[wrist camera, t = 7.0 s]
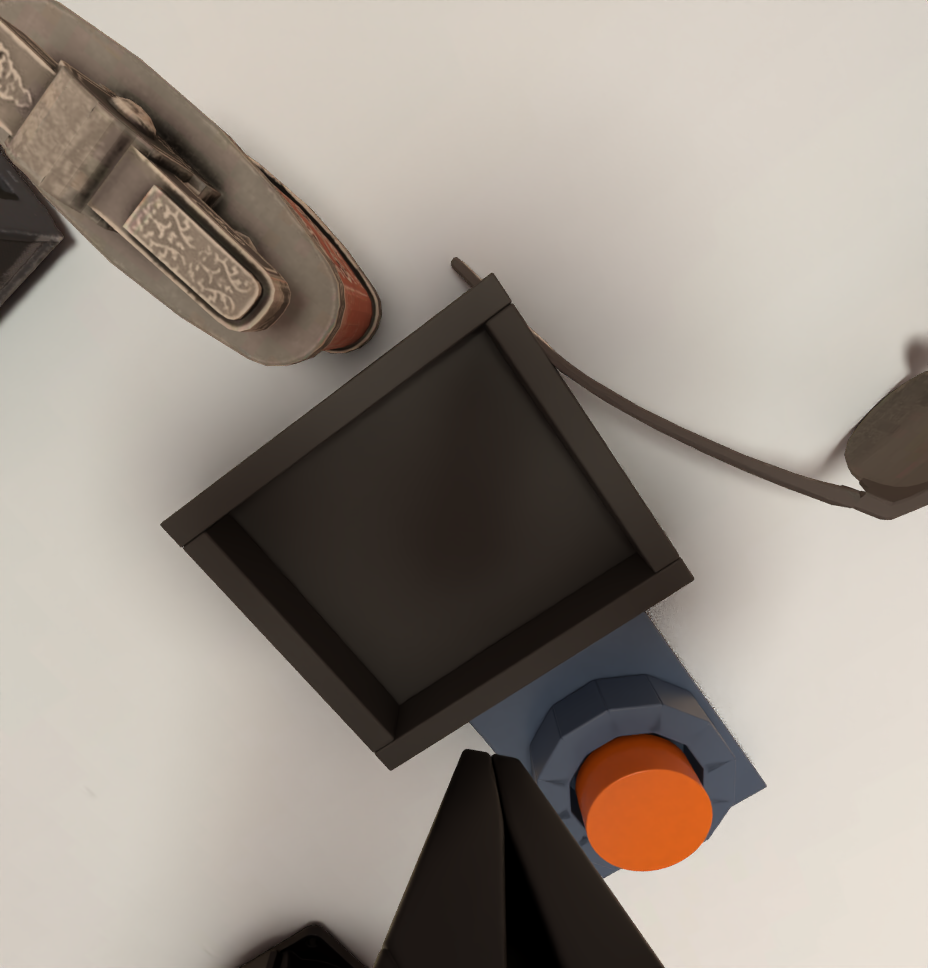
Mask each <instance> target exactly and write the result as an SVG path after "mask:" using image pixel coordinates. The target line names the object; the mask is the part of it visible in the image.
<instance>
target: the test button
mask: <svg viewBox="0 0 928 968" xmlns="http://www.w3.org/2000/svg"><path fill="white" fill-rule="evenodd" d="M575 791H576V797H577V801H578V804H579V808H580V812H581V815H582V819H583V822H584V826H585V830H586V833H587V837H588V840H589V842H590V844H591V846H592V847H593V849H594V850H595V852H596V853H597V854H598V855H599V856H600V857H601V858H603V859H604V860H605V861H607V862H608V863H610V864H612V865H614V866H616V867H619V868H622V869H626V870H632V871H653V870H659V869H663V868H666V867H669V866H672V865H674V864H676V863H678V862H680V861H682V860H684V859H685V858H687V857H688V856H690V855H691V854H692V853H693V852H695V851H696V850H697V849H698V848H699V846H700V845H701V844H702V843H703V841H704V840H705V838H706V837H707V835H708V833H709V830H710V827H711V824H712V817H713V813H712V805H711V801H710V798H709V796H708V794H707V792H706V790H705V789H704V787H703V785H702V783H701V782H700V780H699V778H698V776H697V774H696V773H695V771H694V769H693V767H692V766H691V764H690V762H689V760H688V759H687V757H686V755H685V754H684V753H683V751H682V750H681V749H680V748H679V747H677V746H676V745H675V744H673V743H672V742H670V741H668V740H666V739H664V738H662V737H658V736H655V735H650V734H637V735H627V736H620V737H617V738H614V739H612V740H611V741H609V742H607V743H606V744H604V745H602V746H601V747H599V748H597V749H596V750H594V751H593V752H592V753H591V754H590V755H589V756H588V757H587V758H586V759H585V761H584V762H583V764H582V765H581V767H580V769H579V772H578V775H577V778H576V784H575Z"/></svg>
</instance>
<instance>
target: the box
mask: <svg viewBox="0 0 928 968" xmlns="http://www.w3.org/2000/svg"><path fill="white" fill-rule="evenodd" d="M469 722H470V724H471V725H472V726H473V727H474V728H475V729H476V731H477V732H478V733H479V734H480V735H481V736H482V738H483V739H484V740H485V741H486V742H487V743H488V745H489V746H490V747H491V748H492V749H493V750H494V752H495V753H496V754H498V755H504V756H509V757H515V758H517V759H519V760H520V761H521V762H522V764H523V765H524V767H525V768H526V770H527V771H528V772H529V774H530V775H531V777H532V778H533V780H534V781H535V782H536V784H537V785H538V787H539V788H540V790H541V791H542V792H543V794H544V795H545V797H546V798H547V800H548V801H549V802H550V804H551V805H552V807H553V808H554V810H555V811H556V812H557V814H558V815H559V817H560V818H561V820H562V821H563V823H564V824H565V825H566V827H567V828H568V830H569V831H570V833H571V834H572V835H573V837H574V838H575V840H576V841H577V843H578V844H579V845H580V847H581V848H582V850H583V851H584V853H585V854H586V855H587V857H588V858H589V860H590V861H591V863H592V864H593V865H594V867H595V868H596V870H597V871H598V873H599V874H600V875H601V876H602V878H605V877H607V876H609V875H610V874H612V873H614V872H616V871H618V870H619V869H622V868H619V867H616V866H614V865H612V864H610V863H608V862H607V861H605V860H604V859H603V858H601V857H600V856H599V855H598V854H597V853H596V852H595V850H594V849H593V847H592V846H591V844H590V842H589V840H588V837H587V833H586V830H585V826H584V822H583V819H582V815H581V812H580V808H579V804H578V801H577V797H576V791H575V784H576V778H577V775H578V772H579V769H580V767H581V765H582V764H583V762H584V761H585V759H586V758H587V757H588V756H589V755H590V754H591V753H592V752H593V751H594V750H596V749H597V748H599V747H601V746H602V745H604V744H606V743H607V742H609V741H611V740H612V739H614V738H617V737H620V736H627V735H637V734H650V735H655V736H658V737H662V738H664V739H666V740H668V741H670V742H672V743H673V744H675V745H676V746H677V747H679V748H680V749H681V750H682V751H683V753H684V754H685V755H686V757H687V759H688V760H689V762H690V764H691V766H692V767H693V769H694V771H695V773H696V774H697V776H698V778H699V780H700V782H701V783H702V785H703V787H704V789H705V790H706V792H707V794H708V796H709V798H710V801H711V805H712V813H713V817H712V824H711V827H710V830H709V833H708V835H707V837H706V838H705V840H704V841H703V842H705V841H706V840H708V839H709V838H710V836H711V835H712V833H713V832H714V830H715V829H716V828H717V826H718V825H719V823H720V822H721V820H722V819H723V818H724V816H725V815H726V813H727V812H728V810H729V809H730V808H731V807H732V806H734V805H735V804H737V803H739V802H741V801H743V800H744V799H746V798H748V797H750V796H751V795H753V794H755V793H757V792H759V791H760V790H762V789H764V788H766V787H767V786H766V784H765V782H764V781H763V779H762V778H761V776H760V775H759V774H758V772H757V771H756V769H755V768H754V766H753V765H752V764H751V762H750V761H749V759H748V758H747V756H746V755H745V754H744V752H743V751H742V749H741V748H740V746H739V745H738V744H737V742H736V741H735V739H734V738H733V736H732V735H731V734H730V732H729V731H728V729H727V728H726V726H725V725H724V724H723V722H722V721H721V719H720V718H719V716H718V715H717V714H716V712H715V711H714V709H713V708H712V706H711V705H710V704H709V702H708V701H707V699H706V698H705V696H704V695H703V694H702V692H701V691H700V689H699V688H698V686H697V685H696V684H695V682H694V681H693V679H692V678H691V676H690V675H689V674H688V672H687V671H686V669H685V668H684V666H683V665H682V664H681V662H680V661H679V659H678V658H677V656H676V655H675V654H674V652H673V651H672V649H671V648H670V647H669V645H668V644H667V642H666V641H665V639H664V638H663V637H662V635H661V634H660V632H659V631H658V629H657V628H656V627H655V625H654V624H653V622H652V621H651V619H650V618H649V617H648V615H647V614H646V612H645V611H644V612H643V613H641V614H639V615H638V616H636V617H635V618H633V619H631V620H630V621H628V622H627V623H625V624H624V625H622V626H620V627H619V628H617V629H616V630H614V631H612V632H611V633H609V634H608V635H606V636H604V637H603V638H601V639H600V640H598V641H597V642H595V643H593V644H592V645H590V646H589V647H587V648H585V649H584V650H582V651H581V652H579V653H577V654H576V655H574V656H573V657H571V658H570V659H568V660H566V661H565V662H563V663H562V664H560V665H558V666H557V667H555V668H554V669H552V670H550V671H549V672H547V673H546V674H544V675H543V676H541V677H539V678H538V679H536V680H535V681H533V682H531V683H530V684H528V685H527V686H525V687H523V688H522V689H520V690H519V691H517V692H515V693H514V694H512V695H511V696H509V697H508V698H506V699H504V700H503V701H501V702H500V703H498V704H496V705H495V706H493V707H492V708H490V709H488V710H487V711H485V712H484V713H482V714H481V715H479V716H477V717H476V718H474V719H473V720H471V721H469Z"/></svg>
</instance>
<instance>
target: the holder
mask: <svg viewBox="0 0 928 968" xmlns="http://www.w3.org/2000/svg"><path fill="white" fill-rule="evenodd" d="M510 303H511V299H510V298H509V296H508V294H507V293H506V291H505V290H504V288H503V287H502V285H501V284H500V282H499V281H498V279H497V278H496V276H495V275H494V274H493V273H491V274H489V275H488V276H487V277H486V278H484V279H483V280H482V281H480V282H479V283H478V284H476V285H475V286H474V287H472V288H471V289H470V290H468V291H467V292H466V293H464V294H463V295H462V296H460V297H459V298H458V299H456V300H455V301H454V302H453V303H451V304H450V305H449V306H447V307H446V308H445V309H443V310H442V311H441V312H439V313H438V314H437V315H435V316H434V317H433V318H431V319H430V320H429V321H427V322H426V323H425V324H423V325H422V326H421V327H420V328H418V329H417V330H416V331H414V332H413V333H412V334H410V335H409V336H408V337H406V338H405V339H404V340H402V341H401V342H400V343H398V344H397V345H396V346H394V347H393V348H392V349H390V350H389V351H388V352H387V353H385V354H384V355H383V356H381V357H380V358H379V359H377V360H376V361H375V362H373V363H372V364H371V365H369V366H368V367H367V368H365V369H364V370H363V371H361V372H360V373H359V374H357V375H356V376H355V377H354V378H352V379H351V380H350V381H348V382H347V383H346V384H344V385H343V386H342V387H340V388H339V389H338V390H336V391H335V392H334V393H332V394H331V395H330V396H328V397H327V398H326V399H324V400H323V401H322V402H321V403H319V404H318V405H317V406H315V407H314V408H313V409H311V410H310V411H309V412H307V413H306V414H305V415H303V416H302V417H301V418H299V419H298V420H297V421H295V422H294V423H293V424H291V425H290V426H289V427H287V428H286V429H285V430H284V431H282V432H281V433H280V434H278V435H277V436H276V437H274V438H273V439H272V440H270V441H269V442H268V443H266V444H265V445H264V446H262V447H261V448H260V449H258V450H257V451H256V452H254V453H253V454H252V455H251V456H249V457H248V458H247V459H245V460H244V461H243V462H241V463H240V464H239V465H237V466H236V467H235V468H233V469H232V470H231V471H229V472H228V473H227V474H225V475H224V476H223V477H221V478H220V479H219V480H218V481H216V482H215V483H214V484H212V485H211V486H210V487H208V488H207V489H206V490H204V491H203V492H202V493H200V494H199V495H198V496H196V497H195V498H194V499H192V500H191V501H190V502H188V503H187V504H186V505H185V506H183V507H182V508H181V509H179V510H178V511H177V512H175V513H174V514H173V515H171V516H170V517H169V518H167V519H166V520H165V521H163V522H162V523H161V524H160V525H161V526H162V528H163V529H164V530H165V531H166V532H167V533H168V534H169V535H170V536H171V537H172V538H173V539H174V540H175V541H176V543H177V544H178V545H179V546H180V547H183V546H184V548H183V549H184V550H185V551H186V552H187V554H188V555H189V556H190V557H191V558H192V559H193V560H194V561H195V562H196V563H197V564H198V565H199V566H200V567H201V569H202V570H203V571H204V572H205V573H206V574H207V575H208V576H209V577H210V578H211V579H212V580H213V581H214V582H215V583H216V585H217V586H218V587H219V588H220V589H221V590H222V591H223V592H224V593H225V594H226V595H227V596H228V597H229V598H230V600H231V601H232V602H233V603H234V604H235V605H236V606H237V607H238V608H239V609H240V610H241V611H242V612H243V613H244V615H245V616H246V617H247V618H248V619H249V620H250V621H251V622H252V623H253V624H254V625H255V626H256V627H257V628H258V630H259V631H260V632H261V633H262V634H263V635H264V636H265V637H266V638H267V639H268V640H269V641H270V642H271V643H272V645H273V646H274V647H275V648H276V649H277V650H278V651H279V652H280V653H281V654H282V655H283V656H284V657H285V658H286V660H287V661H288V662H289V663H290V664H291V665H292V666H293V667H294V668H295V669H296V670H297V671H298V672H299V673H300V675H301V676H302V677H303V678H304V679H305V680H306V681H307V682H308V683H309V684H310V685H311V686H312V687H313V688H314V690H315V691H316V692H317V693H318V694H319V695H320V696H321V697H322V698H323V699H324V700H325V701H326V702H327V703H328V704H329V706H330V707H331V708H332V709H333V710H334V711H335V712H336V713H337V714H338V715H339V716H340V717H341V718H342V719H343V721H344V722H345V723H346V724H347V725H348V726H349V727H350V728H351V729H352V730H353V731H354V732H355V733H356V734H357V736H358V737H359V738H360V739H361V740H362V741H363V742H364V743H365V744H366V745H367V746H368V747H369V748H370V749H371V751H372V752H375V755H376V756H377V757H378V758H379V759H380V760H381V761H382V763H383V764H384V765H385V766H386V767H387V768H388V769H389V770H390V771H391V770H393V769H395V768H396V767H398V766H399V765H401V764H403V763H404V762H406V761H407V760H409V759H411V758H412V757H414V756H415V755H417V754H419V753H420V752H422V751H423V750H425V749H426V748H428V747H430V746H431V745H433V744H434V743H436V742H438V741H439V740H441V739H442V738H444V737H446V736H447V735H449V734H450V733H452V732H454V731H455V730H457V729H458V728H460V727H461V726H463V725H465V724H466V723H468V722H469V721H471V720H473V719H474V718H476V717H477V716H479V715H481V714H482V713H484V712H485V711H487V710H488V709H490V708H492V707H493V706H495V705H496V704H498V703H500V702H501V701H503V700H504V699H506V698H508V697H509V696H511V695H512V694H514V693H515V692H517V691H519V690H520V689H522V688H523V687H525V686H527V685H528V684H530V683H531V682H533V681H535V680H536V679H538V678H539V677H541V676H543V675H544V674H546V673H547V672H549V671H550V670H552V669H554V668H555V667H557V666H558V665H560V664H562V663H563V662H565V661H566V660H568V659H570V658H571V657H573V656H574V655H576V654H577V653H579V652H581V651H582V650H584V649H585V648H587V647H589V646H590V645H592V644H593V643H595V642H597V641H598V640H600V639H601V638H603V637H604V636H606V635H608V634H609V633H611V632H612V631H614V630H616V629H617V628H619V627H620V626H622V625H624V624H625V623H627V622H628V621H630V620H631V619H633V618H635V617H636V616H638V615H639V614H641V613H643V612H644V611H646V610H647V609H649V608H651V607H652V606H654V605H655V604H657V603H659V602H660V601H662V600H663V599H665V598H666V597H668V596H670V595H671V594H673V593H674V592H676V591H678V590H679V589H681V588H682V587H684V586H686V585H687V584H689V583H690V582H692V581H693V580H694V577H693V575H692V574H691V572H690V571H689V569H688V568H687V566H686V565H685V563H684V562H683V560H682V559H681V558H680V557H679V554H678V553H677V551H676V550H675V548H674V547H673V545H672V544H671V542H670V540H669V539H668V537H667V536H666V534H665V533H664V531H663V530H662V528H661V527H660V525H659V524H658V522H657V521H656V519H655V518H654V516H653V515H652V513H651V512H650V510H649V509H648V507H647V506H646V504H645V503H644V501H643V500H642V498H641V497H640V495H639V493H638V492H637V490H636V489H635V487H634V486H633V484H632V483H631V481H630V480H629V478H628V477H627V475H626V474H625V472H624V471H623V469H622V468H621V466H620V465H619V463H618V462H617V460H616V459H615V457H614V456H613V454H612V453H611V451H610V449H609V448H608V446H607V445H606V443H605V442H604V440H603V439H602V437H601V436H600V434H599V433H598V431H597V430H596V428H595V427H594V425H593V424H592V422H591V421H590V419H589V418H588V416H587V415H586V413H585V412H584V410H583V409H582V407H581V406H580V404H579V402H578V401H577V399H576V398H575V396H574V395H573V393H572V392H571V390H570V389H569V387H568V386H567V384H566V383H565V381H564V380H563V378H562V377H561V375H560V374H559V372H558V371H557V369H556V368H555V366H554V365H553V364H552V363H551V361H550V359H549V358H548V356H547V354H546V352H545V351H544V349H543V348H542V346H541V345H540V343H539V342H538V340H537V339H536V337H535V336H534V334H533V333H532V331H531V330H530V328H529V327H528V325H527V324H526V322H525V321H524V319H523V318H522V316H521V315H520V313H519V311H518V310H517V308H516V307H515V305H514V304H512V303H511V304H510Z"/></svg>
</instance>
